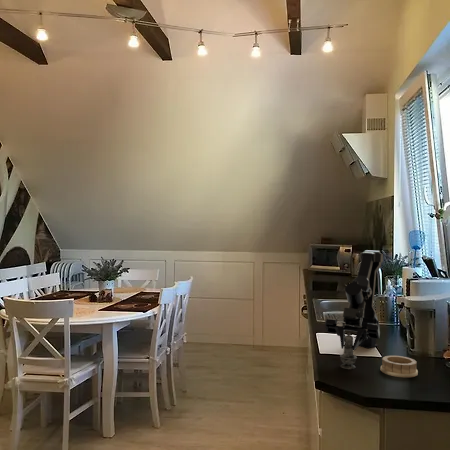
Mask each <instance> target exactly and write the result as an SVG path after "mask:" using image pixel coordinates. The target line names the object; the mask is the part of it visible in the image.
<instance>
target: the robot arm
mask: <svg viewBox="0 0 450 450" xmlns="http://www.w3.org/2000/svg"><path fill="white" fill-rule="evenodd" d="M359 257H360V258H359V261H360V265H359V268H358V273H357V276H356V277H355V278H353V280H352V281H351V282H350V283H348V284H347V285H346V286H345V288H344V291H345V296H346V299H347V302H348V307H344V308H343V313H342V318H343V319H342V320H343V322H338V319H336V318H326V319H325V321H324V327H325V330H326V333H328V334H336V335H337V336H338V337H339V338H340V346H341V347H340V348H341V349H342V350H344V346H343V345H344V344H345V336H346V333H345V331H349V332H356V336H355V339H354V340H353V351H355V350H356V349H357V348H358V347H359V346H360V347H363V348H367V349H369V348H375V347H378V344H377V340H379V339H380V335H381V331H380V321H379V320H378V317H377V315H378V314H377V312H376V310H375V308H374V302H375V289H376V278H377V273H378V271H379V270H380V269H381V267H382V263H383V262H384V254H383V253H381V250H368V249H366V250H364V251H363V252H360V255H359Z"/></svg>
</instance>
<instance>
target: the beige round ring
mask: <svg viewBox="0 0 450 450" xmlns="http://www.w3.org/2000/svg"><path fill="white" fill-rule="evenodd" d="M381 360H382V361H381V365H380V371H381V372H382V373H383V374H385V375H388V376H392V377H396V378H404V379H405V378H414V377H418V373H419V371H418V369H417V364H418V363H417V362H418V361H416V360H415V359H414V358H410V357H408V356H402V355H386V356H383V357H382V359H381Z"/></svg>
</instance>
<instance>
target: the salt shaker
mask: <svg viewBox="0 0 450 450" xmlns="http://www.w3.org/2000/svg"><path fill="white" fill-rule="evenodd" d="M353 345H354V337H353V336H352V335H351V333H350V332H348V334H347V335H346V334H345V342H344V345H343V346H344V347H343V354H340V355H339V358H340V361H341V362H342V364H340V366H339V367H340V368H342V369H346V370H355V369H356V368H357V366H355V365H354V364H355V363H356V361H357V359H358V357H357V356H356V355H355V354H354V350H353Z"/></svg>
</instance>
